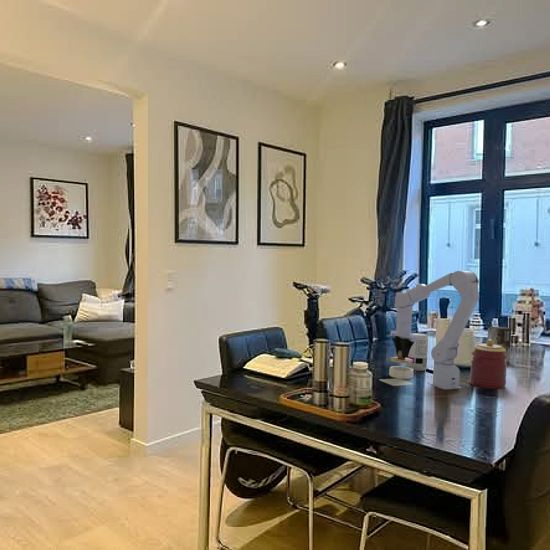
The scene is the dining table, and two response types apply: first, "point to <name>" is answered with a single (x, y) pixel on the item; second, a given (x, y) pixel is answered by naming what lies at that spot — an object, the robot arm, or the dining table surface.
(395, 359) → the lid
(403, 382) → the mat
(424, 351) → the supplement can
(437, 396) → the dining table surface
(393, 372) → the bowl
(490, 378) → the canister
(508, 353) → the coffee box
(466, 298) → the robot arm
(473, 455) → the dining table surface
